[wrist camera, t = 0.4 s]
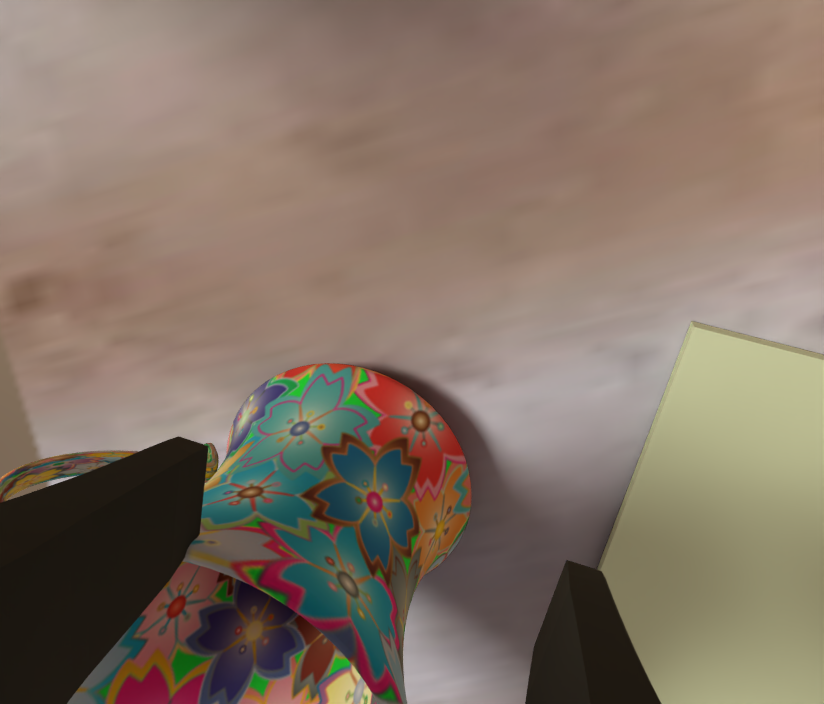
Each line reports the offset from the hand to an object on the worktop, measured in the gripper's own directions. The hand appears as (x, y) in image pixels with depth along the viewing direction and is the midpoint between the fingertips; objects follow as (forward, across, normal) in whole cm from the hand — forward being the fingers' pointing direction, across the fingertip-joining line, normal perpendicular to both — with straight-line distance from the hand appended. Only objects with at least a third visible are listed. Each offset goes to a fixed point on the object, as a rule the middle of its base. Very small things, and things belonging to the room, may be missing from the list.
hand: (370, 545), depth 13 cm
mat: (+10, -13, +5) cm, 17 cm away
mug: (+10, +4, +5) cm, 12 cm away
